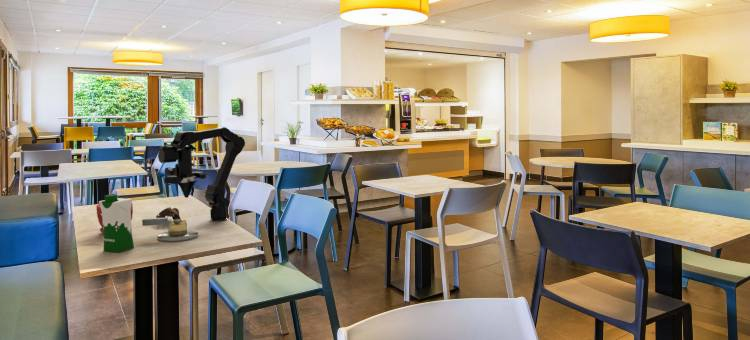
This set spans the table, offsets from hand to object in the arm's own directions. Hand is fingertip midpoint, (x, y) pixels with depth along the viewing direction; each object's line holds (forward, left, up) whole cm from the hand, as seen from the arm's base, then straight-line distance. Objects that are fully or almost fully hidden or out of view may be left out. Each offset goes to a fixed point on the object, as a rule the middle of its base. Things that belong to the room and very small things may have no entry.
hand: (186, 197), depth 227 cm
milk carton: (+21, +34, -12) cm, 42 cm away
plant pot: (+27, +6, -12) cm, 30 cm away
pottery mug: (+7, -6, -12) cm, 15 cm away
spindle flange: (+2, +21, -12) cm, 24 cm away
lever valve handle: (+7, +21, -11) cm, 24 cm away
